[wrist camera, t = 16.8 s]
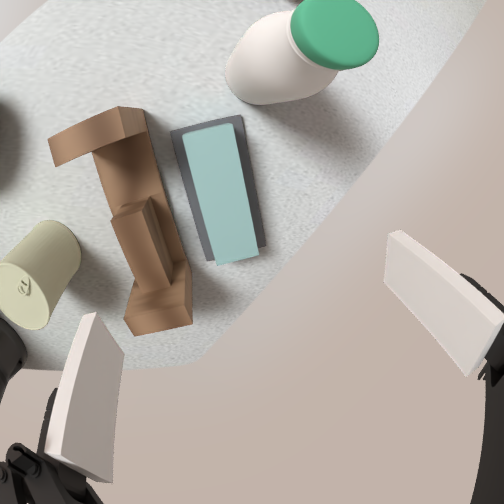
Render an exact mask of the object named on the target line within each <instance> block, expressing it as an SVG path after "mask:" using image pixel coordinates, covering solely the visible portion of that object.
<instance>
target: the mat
mask: <svg viewBox="0 0 504 504" xmlns="http://www.w3.org/2000/svg"><path fill="white" fill-rule="evenodd" d="M226 123H230V124H233V129H234V134H235V139H236V143H237V148H238V153H239V158H240V163H241V168H242V173H243V178H244V183H245V187H246V192H247V197H248V202H249V207H250V212H251V217H252V222H253V227H254V232H255V237H256V242H257V247H258V248H260V247H264V246H266V242H265V237H264V231H263V226H262V221H261V215H260V210H259V205H258V199H257V194H256V189H255V184H254V179H253V174H252V168H251V163H250V158H249V153H248V148H247V143H246V138H245V133H244V128H243V123H242V118H241V115H236V116H231V117H226V118H221V119H217V120H212V121H208V122H204V123H200V124H196V125H192V126H188V127H185V128H181V129H177V130H174V131H171V132H170V133H171V137H172V141H173V145H174V149H175V152H176V156H177V160H178V164H179V168H180V171H181V175H182V179H183V182H184V186H185V190H186V193H187V197H188V200H189V204H190V207H191V211H192V214H193V218H194V221H195V224H196V228H197V231H198V234H199V238H200V241H201V244H202V247H203V251H204V254H205V257H206V260H207V261H210V260H214V259H215V257H214V254H213V250H212V247H211V244H210V240H209V237H208V233H207V229H206V226H205V222H204V219H203V215H202V211H201V208H200V204H199V200H198V197H197V193H196V189H195V185H194V182H193V178H192V174H191V170H190V166H189V162H188V158H187V154H186V150H185V146H184V142H183V138H182V136H183V134H185V133H189V132H192V131H196V130H200V129H204V128H208V127H213V126H217V125H222V124H226Z"/></svg>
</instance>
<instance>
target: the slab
mask: <svg viewBox="0 0 504 504" xmlns="http://www.w3.org/2000/svg"><path fill="white" fill-rule="evenodd" d="M182 138H183V142H184V146H185V150H186V154H187V158H188V162H189V166H190V170H191V174H192V178H193V182H194V185H195V189H196V193H197V197H198V200H199V204H200V208H201V211H202V215H203V219H204V222H205V226H206V229H207V233H208V237H209V240H210V244H211V247H212V250H213V254H214V257H215V261H216V264H217V266H219V265H223V264H226V263H230V262H234V261H238V260H242V259H246V258H250V257H254V256H258V255H259V252H258V247H257V242H256V237H255V232H254V227H253V222H252V217H251V212H250V207H249V202H248V197H247V192H246V187H245V183H244V178H243V173H242V168H241V163H240V158H239V153H238V148H237V143H236V139H235V134H234V129H233V124H230V123H226V124H222V125H217V126H213V127H208V128H204V129H200V130H196V131H192V132H189V133H185V134H183V136H182Z"/></svg>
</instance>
